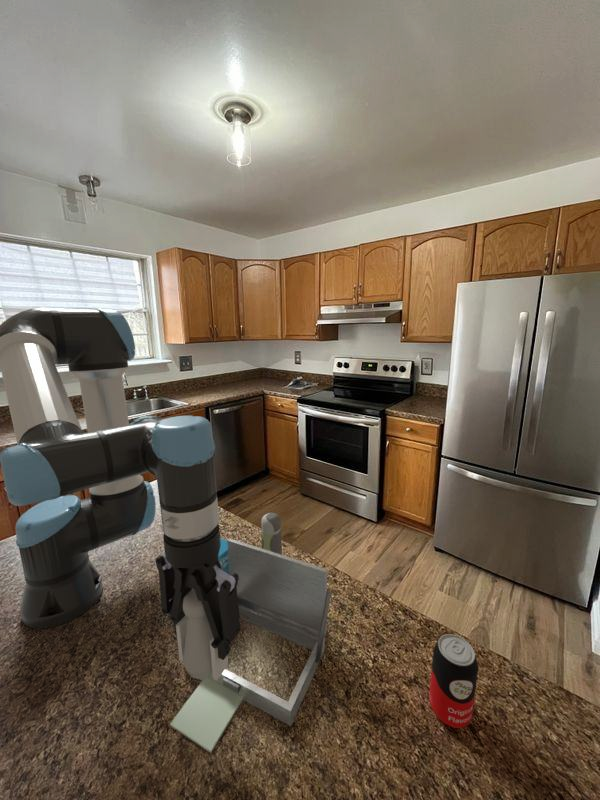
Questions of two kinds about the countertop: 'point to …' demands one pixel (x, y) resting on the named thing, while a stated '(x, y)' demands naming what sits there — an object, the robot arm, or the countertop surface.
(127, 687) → the countertop surface
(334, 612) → the countertop surface
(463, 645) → the beverage can
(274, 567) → the case
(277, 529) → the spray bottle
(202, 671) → the salt shaker
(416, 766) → the countertop surface
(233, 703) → the pad
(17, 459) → the robot arm
